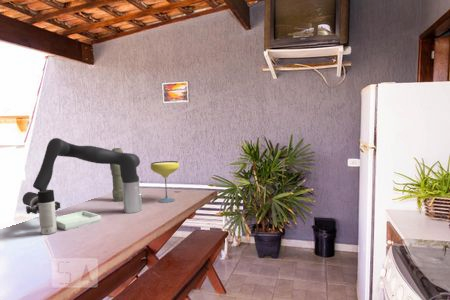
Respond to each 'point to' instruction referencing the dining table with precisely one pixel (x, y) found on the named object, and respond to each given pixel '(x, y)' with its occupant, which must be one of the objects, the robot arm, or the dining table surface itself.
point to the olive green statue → (117, 180)
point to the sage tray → (77, 220)
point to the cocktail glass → (165, 173)
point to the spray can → (47, 212)
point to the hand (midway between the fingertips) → (46, 210)
